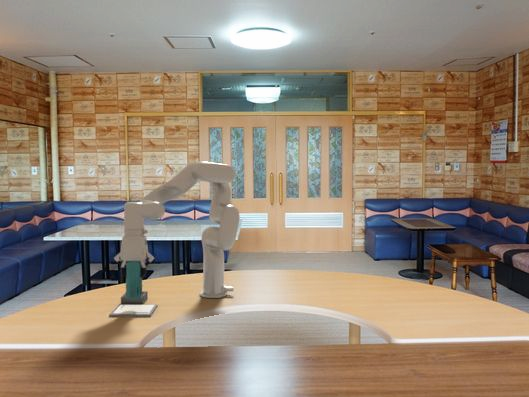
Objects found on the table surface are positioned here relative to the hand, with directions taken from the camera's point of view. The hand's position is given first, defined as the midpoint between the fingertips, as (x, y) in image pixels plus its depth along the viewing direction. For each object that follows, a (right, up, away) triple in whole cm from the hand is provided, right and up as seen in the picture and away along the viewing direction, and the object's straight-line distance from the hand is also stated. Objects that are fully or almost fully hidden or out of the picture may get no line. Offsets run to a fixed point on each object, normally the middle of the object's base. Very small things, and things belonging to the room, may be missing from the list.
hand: (134, 276), depth 174 cm
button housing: (-4, -13, +13) cm, 19 cm away
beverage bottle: (0, -10, +1) cm, 10 cm away
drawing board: (0, -14, +1) cm, 14 cm away
